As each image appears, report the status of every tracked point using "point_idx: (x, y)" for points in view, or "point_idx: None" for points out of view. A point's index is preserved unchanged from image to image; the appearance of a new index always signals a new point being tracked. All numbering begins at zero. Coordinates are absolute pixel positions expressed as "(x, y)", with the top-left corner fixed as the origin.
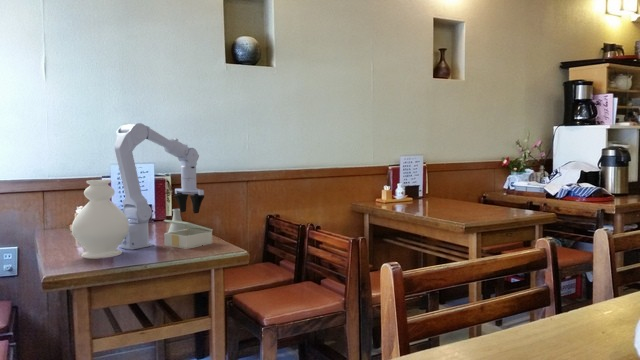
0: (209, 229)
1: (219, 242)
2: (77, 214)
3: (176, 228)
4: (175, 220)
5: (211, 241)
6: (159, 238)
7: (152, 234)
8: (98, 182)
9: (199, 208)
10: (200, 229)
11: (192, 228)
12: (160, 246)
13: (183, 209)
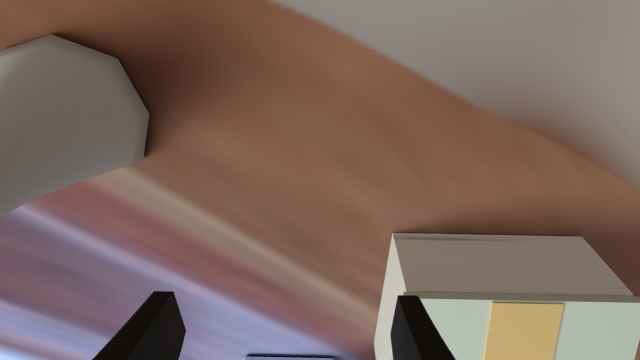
0: (636, 325)
1: (616, 202)
2: None
3: (110, 169)
4: (37, 197)
5: (586, 248)
6: (189, 268)
7: (17, 216)
8: None
9: (442, 344)
10: (521, 297)
11: (439, 297)
12: (370, 354)
13: (169, 340)
